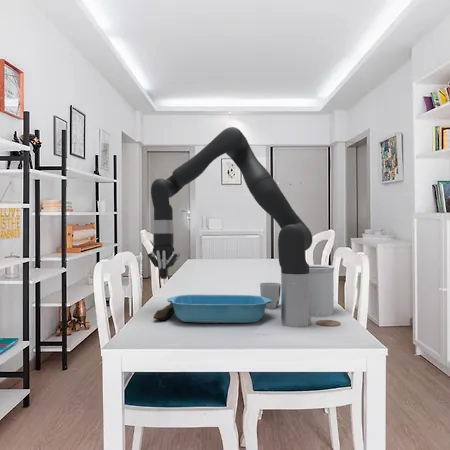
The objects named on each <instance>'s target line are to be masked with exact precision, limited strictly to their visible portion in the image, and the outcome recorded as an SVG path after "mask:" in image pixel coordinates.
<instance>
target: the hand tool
mask: <svg viewBox="0 0 450 450" xmlns="http://www.w3.org/2000/svg"><path fill="white" fill-rule="evenodd" d="M173 314H175V311H174V307H173V304H172V303H171V302H169V305H166V306H165V307H164V308H162V309H160V310H157V311H156V312H155V314H154V315H153V317H152V318H153V319H154V320H163V321H164V320H168V319H170V317H171V315H173Z"/></svg>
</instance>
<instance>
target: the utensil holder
mask: <svg viewBox="0 0 450 450" xmlns="http://www.w3.org/2000/svg"><path fill="white" fill-rule="evenodd" d="M308 265H309V286H310V296H311V317H327V316H332V315H333V314H334V303H335V302H334V301H335V300H334V298H335V297H334V294H335V293H334V292H335V291H334V290H335V288H334V286H335V285H334V272H335V267H334V265H329V264H326V265H325V264H308Z"/></svg>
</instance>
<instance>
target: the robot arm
mask: <svg viewBox="0 0 450 450" xmlns="http://www.w3.org/2000/svg"><path fill="white" fill-rule="evenodd" d="M225 154H226V155H227V156H228V158H230V159H231V160H232V161H233V163H234V164H235V166H237V168H238V169H239V171H240V172H241V175H242V177H243V181H244V183H245V184H246V187H247V189H248V191H249V193H250V194H251V196H252V197H253V199H254V200H255V201H256V203H257V204H258V205H259V206H260V207H261V209H263V210H264V212H266V213H267V214H268V215H269V216H270V217H271V218H272V219H274V221H275V222H276V223H277V225H278V226H279V228H280V231H279V232H278V236H277V237H278V239H277V251H278V252H277V253H278V254H277V255H278V264H279V267H280V281H281V282H280V284H281V292H280V300H281V301H280V304H281V305H280V307H281V311H280V312H281V313H280V314H281V315H280V316H281V317H280V319H281V320H280V321H281V322H280V323H281V325H282V326H284V327H289V328H309V326H311V324H312V316H311V296H310V286H309V265H310V264H309V263H308V262H307V260H306V251H307V250H309V249H310V247H312V245H313V234H312V232H311V229H309V227H308V226H307V225H306V223H304V222H303V220H302V219H301V217H300V216H298V214H297V213H296V212H295V210H294V209H293V208H292V206H291V204H290V203H289V201H288V199H287V197H286V196H285V194H284V193H283V191H282V190H281V188H280V187H279V185H278V183H277V182H276V180H275V179H274V178H273V177H272V175H271V174H270V172H269V171H268V169H266V168H265V166H263V164H262V163H261V162H260V161H259V160H258V159H257V157H256V156H255V154H254V152H253V150H252V148H251V146H250V144H249V142H248V140H247V137H245V135H244V134H243V132H242V131H241V130H240V129H239V128H238V127H235V126H230V127H227V128H225V129H223V130H222V131H221V132H220V133H219V134H218V135H216V136H215V137H214V138H213V139H212V140H211V141H210V142H209V143H208V144H207V145H205V146H204V147H203V148H202V149H201V150H200V151H199V152H198V153H196V154H195V155H194V156H193V157H191V158H190V159H189V160H187V161H185V162H184V163H182V164H181V165H179V166H178V167H177V168H175V169H174V170H173V171H172V173H171V174H172V175H170V176H169V177H167V178H166V179H165V178H156V179H155V180H153V182H152V183H151V185H150V195H151V202H152V206H153V225H152V228H153V230H152V232H153V233H152V240H153V241H152V243H153V244H152V245H153V248H152V251H151V252H150V253H147V257H148V259H149V260H150V261H151V263H152V265H153V266H154V267H155V268H158V269H159V277H160V279H161V280H166V279H167V278H168V277H169V268H171V267H173V266H174V265H175V263H176V262H177V260H178V259H179V257H180V255H181V254H180V253H177V252H176V250H175V247H174V241H175V240H174V220H173V216H174V214H173V213H174V212H173V207H172V205H171V204H170V198H173V197H174V196H175V195H176V194H178V193H179V192H180V191H181V190H182V189H183V188H184V187H185V186H186V185H188V184H190V183H191V182H193V181H194V180H196V179H197V178H199V177H200V176H201V175H202V174H203V173H204V172H205V171H206V169H207V168H208V167H209V166H210V165H211V163H212V162H214V160H216V159H217V158H219V157H221V156H222V155H225Z"/></svg>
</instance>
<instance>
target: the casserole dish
mask: <svg viewBox="0 0 450 450" xmlns="http://www.w3.org/2000/svg"><path fill="white" fill-rule="evenodd" d="M166 299H167V302H168V303H172V304H173V307H174V311H175V312H174V314H175V316H176V317H177V318H178V319H179V321H181V322H186V323H215V324H216V323H223V324H224V323H227V324H228V323H229V324H230V323H231V324H232V323H234V324H235V323H237V324H238V323H239V324H240V323H243V324H247V323H248V324H249V323H257V322H259V321H260V320H261V319H262V318H263V317H264V314H265V311H266V309H267V308H266V304H267V303H271V302H272V300H271V299H269V298H265V297H262V296H261V295H252V294H181V295H176V296H171V297H169V298H166Z"/></svg>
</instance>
